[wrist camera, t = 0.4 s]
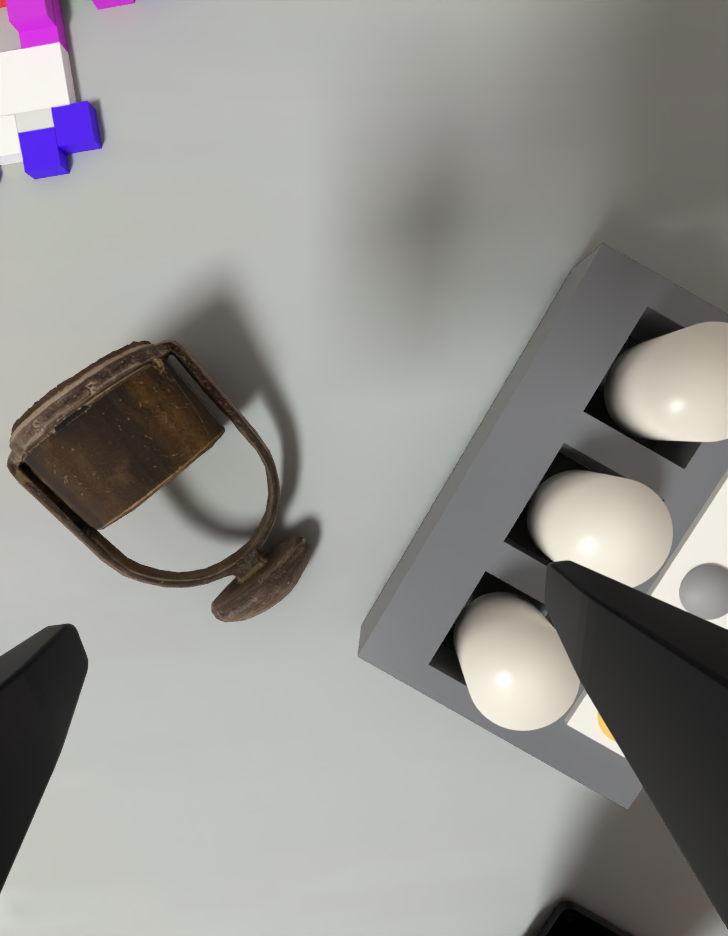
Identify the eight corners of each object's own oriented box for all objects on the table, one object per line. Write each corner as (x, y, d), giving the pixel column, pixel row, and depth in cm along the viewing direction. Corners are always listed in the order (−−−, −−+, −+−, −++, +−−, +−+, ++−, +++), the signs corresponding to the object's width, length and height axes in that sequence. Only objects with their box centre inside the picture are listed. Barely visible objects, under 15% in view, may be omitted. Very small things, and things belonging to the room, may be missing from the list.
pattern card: (851, 448, 18) (862, 448, 18) (639, 762, 20) (644, 769, 19) (770, 402, 18) (779, 401, 18) (564, 720, 20) (567, 726, 19)
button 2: (724, 371, 19) (796, 359, 16) (670, 457, 19) (728, 463, 16) (638, 321, 19) (692, 299, 16) (584, 409, 19) (626, 405, 16)
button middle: (643, 499, 20) (695, 514, 16) (591, 581, 20) (632, 611, 17) (559, 451, 20) (594, 456, 16) (508, 534, 20) (533, 555, 17)
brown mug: (228, 269, 16) (-87, 337, 15) (334, 625, 16) (21, 734, 14) (249, 340, 24) (37, 391, 22) (322, 588, 23) (112, 658, 22)
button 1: (565, 621, 20) (601, 658, 17) (516, 698, 20) (542, 750, 17) (483, 574, 20) (503, 603, 17) (436, 652, 20) (446, 695, 17)
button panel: (825, 414, 21) (898, 411, 18) (595, 760, 23) (627, 810, 20) (571, 269, 21) (602, 242, 18) (361, 626, 23) (357, 656, 20)
